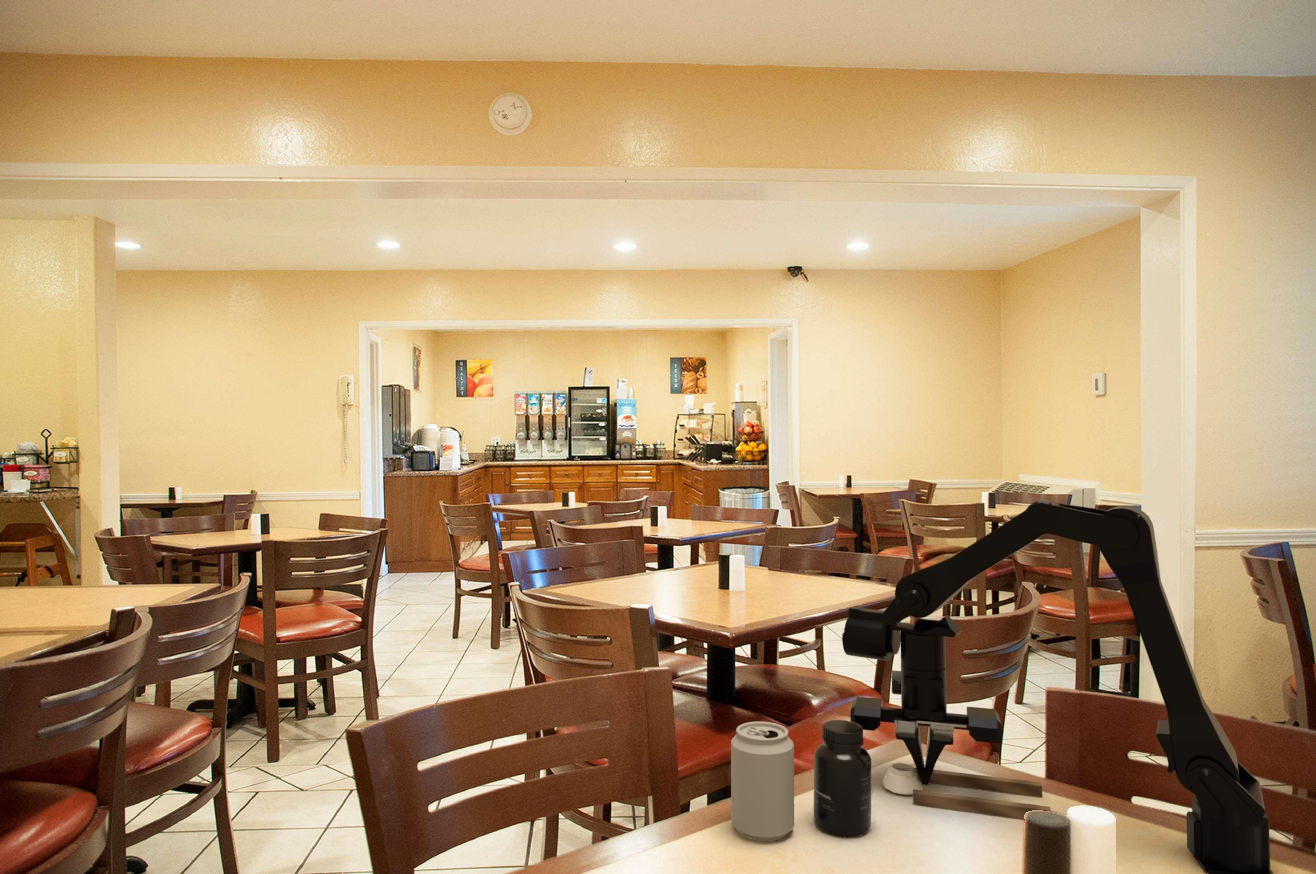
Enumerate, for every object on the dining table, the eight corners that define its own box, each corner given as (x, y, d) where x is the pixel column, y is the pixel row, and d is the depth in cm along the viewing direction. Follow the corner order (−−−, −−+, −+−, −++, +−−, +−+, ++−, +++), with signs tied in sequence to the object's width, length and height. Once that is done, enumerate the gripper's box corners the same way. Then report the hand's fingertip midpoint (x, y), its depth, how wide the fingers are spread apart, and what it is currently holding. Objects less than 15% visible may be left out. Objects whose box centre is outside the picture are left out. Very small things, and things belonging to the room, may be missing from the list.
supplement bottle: (806, 831, 93) (805, 729, 94) (822, 808, 99) (821, 713, 100) (864, 844, 90) (863, 739, 90) (877, 820, 96) (876, 721, 97)
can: (793, 847, 89) (792, 741, 90) (727, 841, 91) (727, 737, 91) (795, 818, 97) (794, 720, 97) (734, 812, 98) (734, 716, 99)
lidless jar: (892, 778, 109) (876, 790, 105) (892, 757, 109) (876, 767, 105) (928, 788, 105) (912, 800, 102) (927, 766, 105) (912, 777, 102)
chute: (1040, 793, 104) (1040, 782, 104) (1051, 823, 95) (1051, 810, 95) (913, 778, 109) (913, 767, 109) (912, 804, 100) (912, 792, 100)
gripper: (993, 656, 109) (995, 769, 109) (856, 646, 115) (857, 753, 115) (1001, 677, 99) (1003, 803, 98) (849, 666, 105) (850, 784, 104)
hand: (924, 783), depth 104 cm, fingers closed
